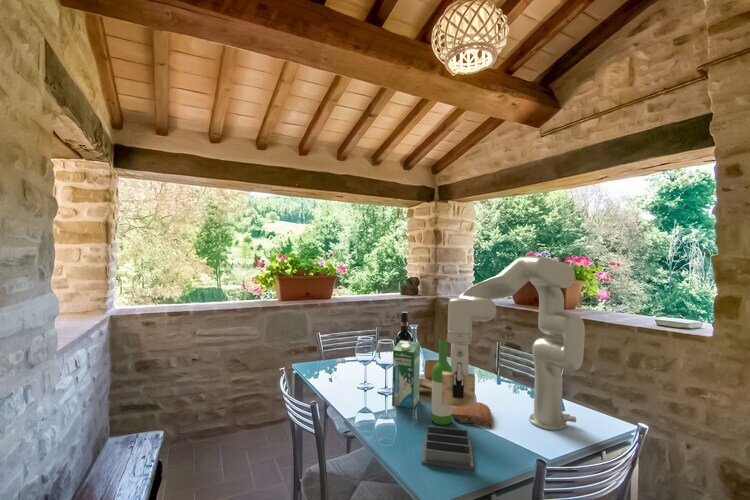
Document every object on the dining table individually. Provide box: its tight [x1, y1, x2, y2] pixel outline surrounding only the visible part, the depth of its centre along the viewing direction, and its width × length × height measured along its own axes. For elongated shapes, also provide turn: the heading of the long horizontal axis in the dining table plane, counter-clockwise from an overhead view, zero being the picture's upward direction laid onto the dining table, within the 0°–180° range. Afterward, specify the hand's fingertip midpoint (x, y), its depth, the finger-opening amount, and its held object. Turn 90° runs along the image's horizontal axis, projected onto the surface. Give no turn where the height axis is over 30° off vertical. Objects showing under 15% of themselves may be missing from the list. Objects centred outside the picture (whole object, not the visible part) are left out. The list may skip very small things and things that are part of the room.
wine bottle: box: [430, 339, 454, 426], centre depth 141 cm, size 8×8×30 cm
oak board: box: [441, 371, 476, 408], centre depth 119 cm, size 10×3×10 cm, turn 80°
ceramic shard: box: [452, 401, 493, 428], centre depth 145 cm, size 15×6×15 cm
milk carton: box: [391, 339, 421, 410], centre depth 157 cm, size 9×9×25 cm
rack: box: [421, 425, 475, 471], centre depth 119 cm, size 15×17×4 cm
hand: (457, 394), depth 119 cm, fingers closed on oak board, 3 cm apart
